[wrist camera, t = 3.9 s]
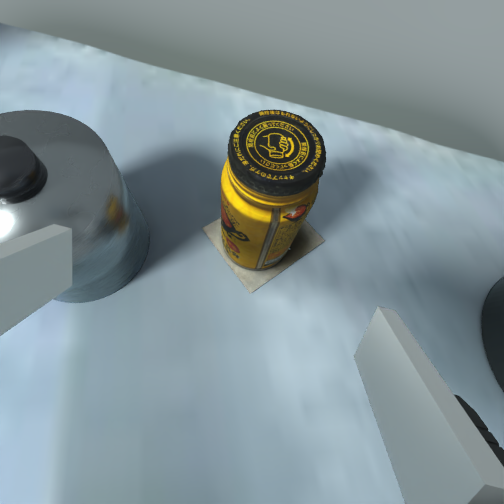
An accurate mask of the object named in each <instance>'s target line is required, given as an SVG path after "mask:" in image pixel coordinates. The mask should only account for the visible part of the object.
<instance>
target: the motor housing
mask: <svg viewBox="0 0 504 504" xmlns="http://www.w3.org/2000/svg"><path fill="white" fill-rule="evenodd" d="M53 224H56V225H60V226H64V227H68V228H72V286H71V287H69V288H68V289H67V290H65V291H64V292H62V293H61V294H59V295H58V296H57V297H55V298H54V299H55V300H57V301H62V302H68V303H83V302H90V301H94V300H98V299H101V298H104V297H106V296H108V295H111V294H112V293H114V292H116V291H118V290H119V289H121V288H122V287H123V286H125V285H126V284H127V283H128V282H129V281H130V280H131V279H132V278H133V277H134V276H135V275H136V274H137V273H138V271H139V270H140V268H141V267H142V265H143V263H144V261H145V259H146V256H147V253H148V248H149V239H150V237H149V230H148V226H147V223H146V221H145V219H144V217H143V215H142V213H141V211H140V209H139V207H138V205H137V204H136V202H135V200H134V198H133V196H132V194H131V192H130V190H129V188H128V187H127V185H126V183H125V181H124V179H123V177H122V175H121V173H120V172H119V170H118V168H117V166H116V164H115V162H114V160H113V158H112V157H111V155H110V153H109V151H108V149H107V147H106V146H105V144H104V142H103V141H102V139H101V138H100V137H99V136H98V135H97V134H96V133H95V132H94V131H93V130H92V129H91V128H89V127H88V126H87V125H85V124H83V123H82V122H80V121H78V120H76V119H74V118H72V117H69V116H66V115H63V114H59V113H54V112H49V111H40V110H24V111H13V112H7V113H2V114H0V244H1V243H4V242H7V241H10V240H12V239H15V238H18V237H20V236H23V235H26V234H28V233H31V232H34V231H37V230H39V229H42V228H45V227H47V226H50V225H53Z"/></svg>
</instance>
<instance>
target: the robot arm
mask: <svg viewBox="0 0 504 504" xmlns="http://www.w3.org/2000/svg"><path fill="white" fill-rule="evenodd" d="M71 286H72V228H68V227H64V226H60V225H56V224H53V225H50V226H47V227H45V228H42V229H39V230H37V231H34V232H31V233H28V234H26V235H23V236H20V237H18V238H15V239H12V240H10V241H7V242H4V243H1V244H0V336H1V335H2V334H4V333H5V332H7V331H8V330H9V329H11V328H12V327H14V326H15V325H17V324H18V323H19V322H21V321H22V320H24V319H25V318H27V317H28V316H29V315H31V314H32V313H34V312H35V311H37V310H38V309H39V308H41V307H42V306H44V305H45V304H47V303H48V302H49V301H51V300H52V299H54V298H55V297H57V296H58V295H59V294H61V293H62V292H64V291H65V290H67V289H68V288H69V287H71ZM482 336H483V342H484V347H485V351H486V355H487V358H488V361H489V364H490V366H491V369H492V371H493V373H494V375H495V377H496V379H497V381H498V383H499V385H500V386H501V388H502V390H503V391H504V277H503V278H502V279H501V280H500V281H498V282H497V283H496V284H495V285H494V287H493V288H492V289H491V291H490V293H489V294H488V297H487V299H486V301H485V304H484V308H483V314H482ZM354 359H355V361H356V364H357V367H358V370H359V373H360V376H361V378H362V381H363V384H364V387H365V390H366V393H367V396H368V398H369V401H370V404H371V407H372V410H373V413H374V416H375V418H376V421H377V424H378V427H379V430H380V433H381V436H382V438H383V441H384V444H385V447H386V450H387V453H388V456H389V458H390V461H391V464H392V467H393V470H394V473H395V476H396V478H397V481H398V484H399V487H400V490H401V493H402V496H403V498H404V501H405V504H504V450H503V448H502V447H499V443H498V442H497V440H496V439H495V438H494V436H493V435H492V433H491V432H488V428H487V427H486V425H485V424H484V422H483V421H482V420H481V418H480V417H479V416H478V414H477V413H476V412H475V411H474V410H473V409H472V408H471V407H470V406H469V405H468V404H467V403H466V402H465V401H464V400H463V399H462V398H461V397H460V396H458V395H454V394H453V393H452V392H451V390H450V389H449V387H448V386H447V384H446V383H445V381H444V380H443V379H442V377H441V376H440V374H439V373H438V371H437V370H436V368H435V367H434V366H433V364H432V363H431V361H430V360H429V358H428V357H427V355H426V354H425V353H424V351H423V350H422V348H421V347H420V345H419V344H418V342H417V341H416V340H415V338H414V337H413V335H412V334H411V332H410V331H409V329H408V328H407V327H406V325H405V324H404V322H403V321H402V319H401V318H400V316H399V315H398V313H397V312H396V311H395V310H391V309H387V308H383V307H379V306H378V307H377V309H376V311H375V313H374V315H373V317H372V319H371V321H370V323H369V326H368V328H367V330H366V332H365V334H364V336H363V338H362V340H361V342H360V344H359V347H358V349H357V351H356V353H355V355H354Z"/></svg>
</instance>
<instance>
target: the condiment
mask: <svg viewBox="0 0 504 504" xmlns="http://www.w3.org/2000/svg"><path fill="white" fill-rule="evenodd" d="M325 163H326V151H325V146H324V141H323V138H322V136H321V135H320V133H319V132H318V131H317V129H316V128H315V127H313V125H312V124H311V123H310V122H308V121H307V120H305V119H304V118H302V117H301V116H299V115H296V114H293V113H290V112H286V111H281V110H261V111H259V112H255V113H252V114H251V115H248V116H247V117H245V118H243V119H242V120H241V121H239V123H238V125H237V126H236V127H235V129H234V130H233V131H232V132H231V135H230V139H229V144H228V158H227V160H226V162H225V165H224V167H223V171H222V176H221V218H219V219H217V220H215V221H214V222H212V223H210V224H209V225H207V226H205V227H203V228H202V229H203V230H204V232H205V233H206V234H207V236H208V237H209V239H210V240H211V241H212V243H213V244H214V246H215V247H216V248H217V250H218V251H219V252H220V254H221V255H222V257H223V258H224V259H225V261H226V262H227V263H228V265H229V266H230V267H231V269H232V270H233V271H234V273H235V274H236V275H237V277H238V278H239V279H240V281H241V282H242V283H243V285H244V286H245V287H246V289H247V290H248V291H249V293H250V294H251V293H252V292H253V291H255V290H256V289H258V288H259V287H261V286H262V285H263V284H265V283H266V282H268V281H269V280H270V279H272V278H273V277H275V276H276V275H278V274H279V273H280V272H282V271H283V270H285V269H286V268H287V267H289V266H290V265H292V264H293V263H294V262H296V261H297V260H298V259H300V258H301V257H303V256H304V255H306V254H307V253H309V252H310V251H311V250H313V249H314V248H315V247H317V246H318V245H320V244H321V243H322V242H324V239H323V238H322V237H321V236H320V235H319V234H318V233H317V232H316V231H315V230H314V229H313V228H312V227H311V226H310V224H309V223H308V222H307V221H306V220H305V218H306V217H307V214H308V213H309V211H310V209H311V208H312V206H313V204H314V201H315V199H316V196H317V193H318V184H319V177H321V176H322V175H323V170H324V168H325ZM289 248H290V250H289Z"/></svg>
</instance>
